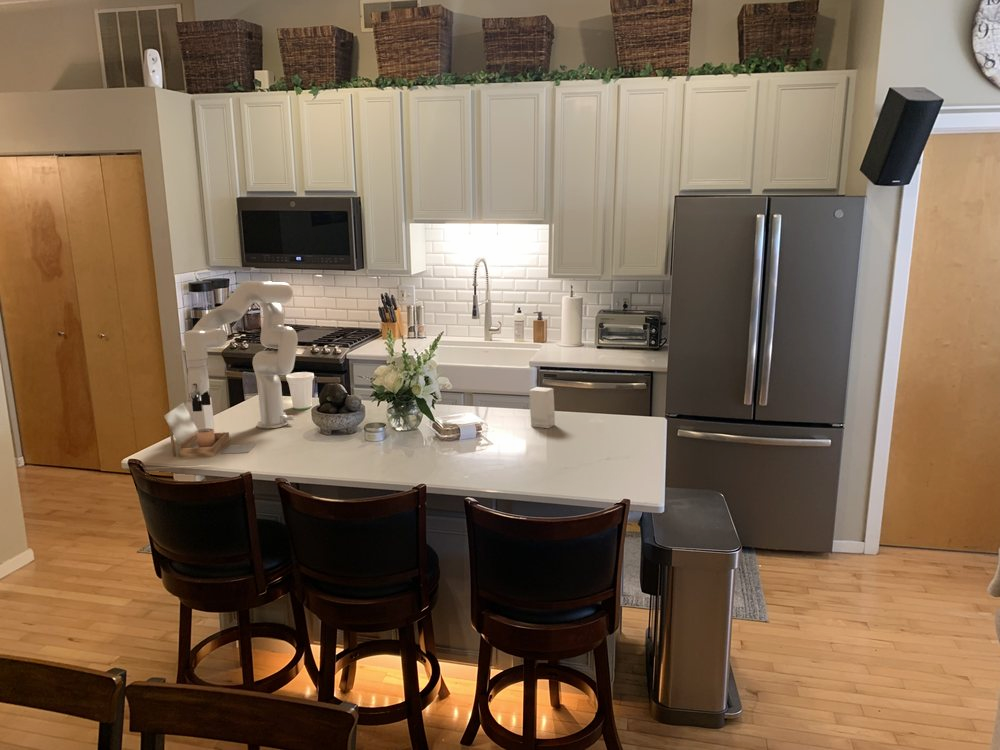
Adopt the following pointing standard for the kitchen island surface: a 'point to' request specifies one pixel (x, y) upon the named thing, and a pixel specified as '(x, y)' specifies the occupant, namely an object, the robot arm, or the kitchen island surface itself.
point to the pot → (206, 437)
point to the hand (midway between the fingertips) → (201, 408)
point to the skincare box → (542, 407)
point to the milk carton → (201, 415)
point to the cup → (301, 389)
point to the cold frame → (190, 434)
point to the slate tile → (238, 449)
